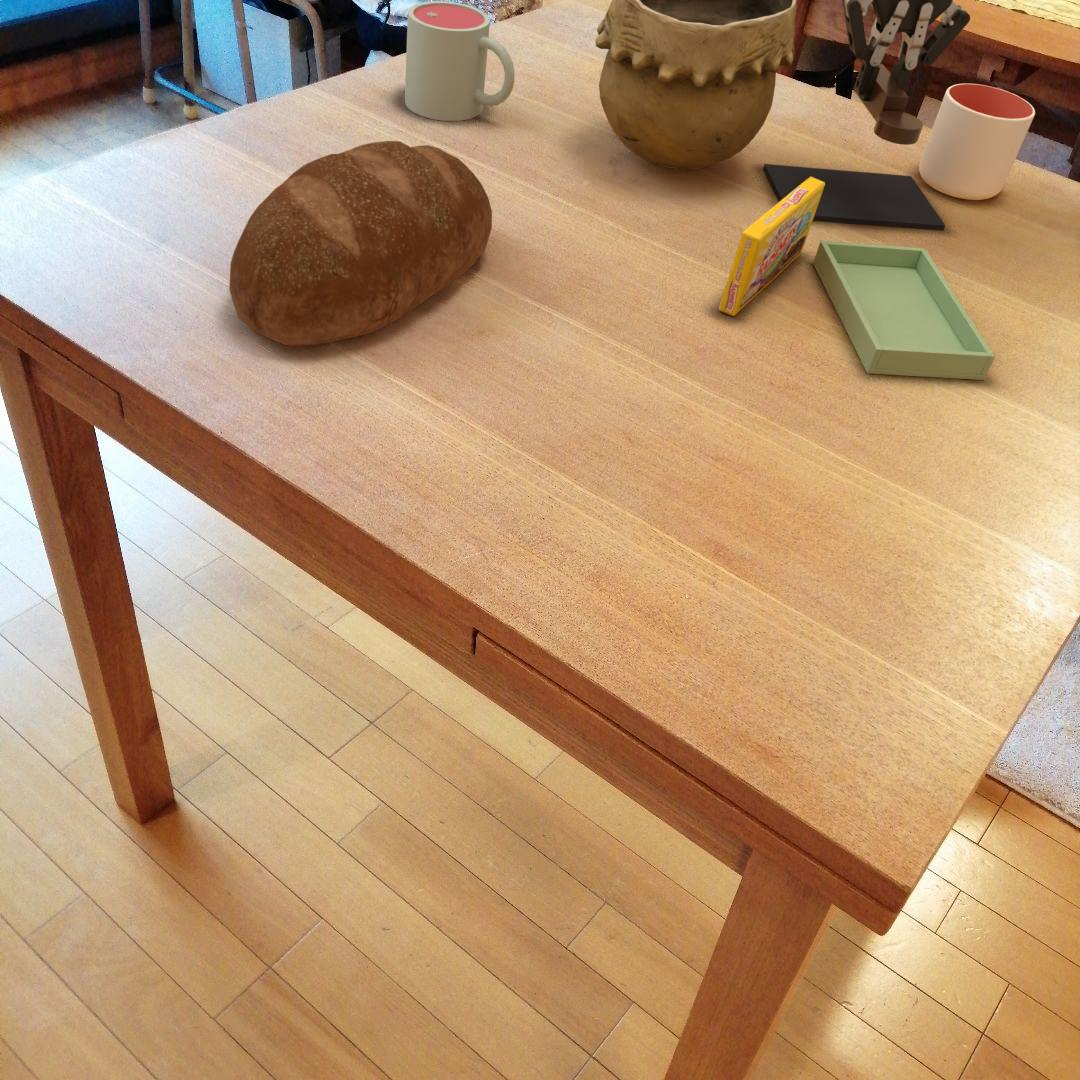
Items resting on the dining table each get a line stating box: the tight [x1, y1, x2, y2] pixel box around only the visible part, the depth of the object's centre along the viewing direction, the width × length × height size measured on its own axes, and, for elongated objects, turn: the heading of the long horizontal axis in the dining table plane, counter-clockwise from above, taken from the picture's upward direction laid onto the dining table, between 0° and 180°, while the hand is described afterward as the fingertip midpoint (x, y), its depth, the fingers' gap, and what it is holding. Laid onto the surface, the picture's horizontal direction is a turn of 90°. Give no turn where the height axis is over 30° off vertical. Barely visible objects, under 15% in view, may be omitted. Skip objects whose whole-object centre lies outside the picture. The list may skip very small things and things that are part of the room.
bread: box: [228, 140, 493, 347], centre depth 95 cm, size 16×29×11 cm, turn 149°
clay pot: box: [594, 0, 797, 170], centre depth 118 cm, size 21×21×20 cm
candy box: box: [718, 177, 825, 317], centre depth 104 cm, size 16×2×8 cm, turn 147°
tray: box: [812, 240, 996, 381], centre depth 104 cm, size 11×19×3 cm, turn 4°
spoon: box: [853, 63, 924, 146], centre depth 115 cm, size 5×14×3 cm, turn 4°
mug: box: [404, 0, 515, 122], centre depth 125 cm, size 14×9×10 cm
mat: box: [762, 163, 946, 231], centre depth 123 cm, size 18×12×1 cm, turn 94°
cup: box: [918, 83, 1036, 201], centre depth 126 cm, size 10×10×10 cm
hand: (876, 99), depth 118 cm, fingers closed on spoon, 2 cm apart
